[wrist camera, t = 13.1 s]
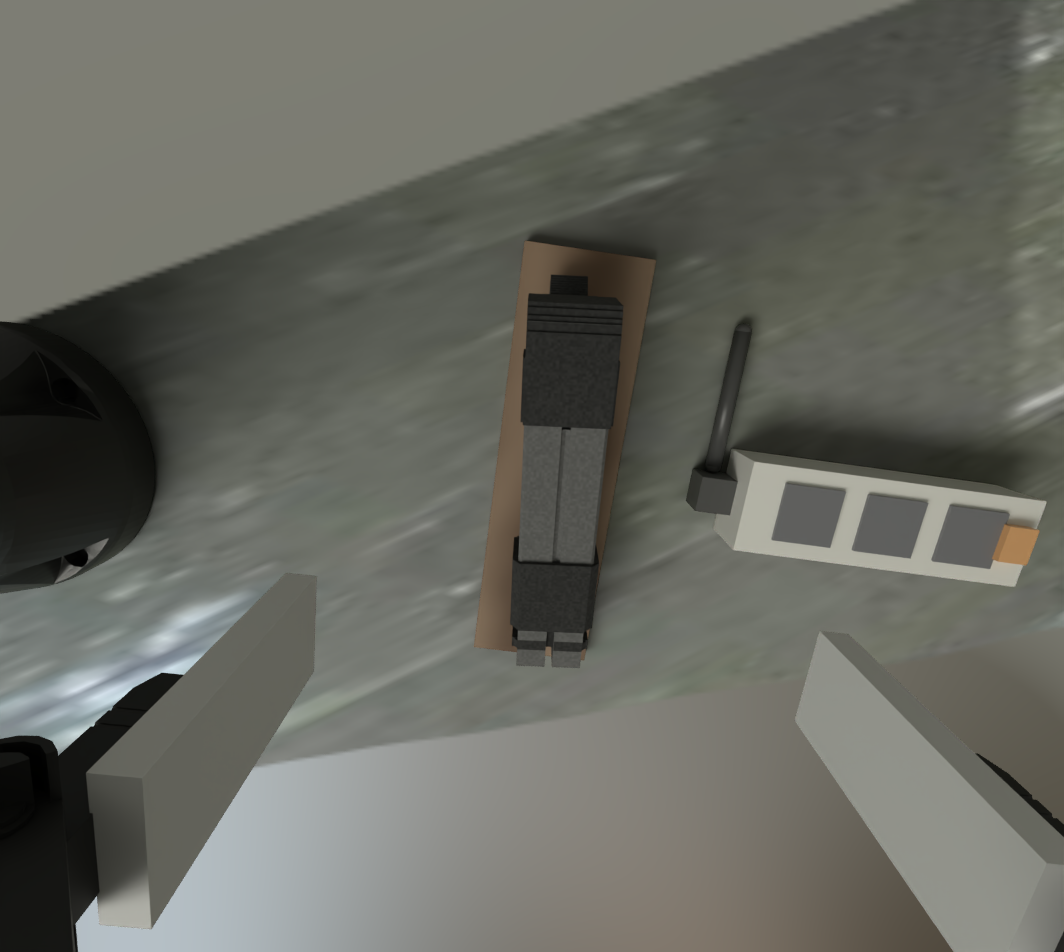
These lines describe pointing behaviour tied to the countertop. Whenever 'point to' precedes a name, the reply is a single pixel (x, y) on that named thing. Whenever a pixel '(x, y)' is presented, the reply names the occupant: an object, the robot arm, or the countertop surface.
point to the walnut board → (540, 260)
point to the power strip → (859, 508)
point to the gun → (562, 467)
